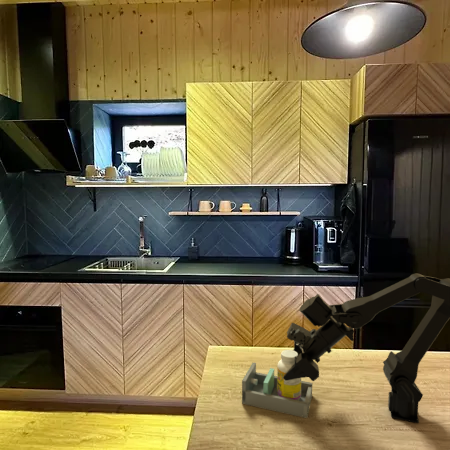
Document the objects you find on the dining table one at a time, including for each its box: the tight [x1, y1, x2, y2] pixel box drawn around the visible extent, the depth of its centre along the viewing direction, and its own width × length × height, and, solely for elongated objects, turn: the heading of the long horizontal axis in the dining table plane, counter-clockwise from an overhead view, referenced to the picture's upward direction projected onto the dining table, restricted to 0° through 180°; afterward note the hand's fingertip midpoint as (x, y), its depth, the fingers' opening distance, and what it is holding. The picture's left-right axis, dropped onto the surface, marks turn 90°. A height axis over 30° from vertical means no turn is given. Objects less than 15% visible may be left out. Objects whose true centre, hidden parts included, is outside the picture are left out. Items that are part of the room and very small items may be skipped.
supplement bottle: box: [276, 349, 302, 400], centre depth 99 cm, size 7×7×13 cm
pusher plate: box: [263, 367, 275, 395], centre depth 101 cm, size 1×8×6 cm, turn 159°
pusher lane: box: [241, 362, 313, 419], centre depth 101 cm, size 18×11×7 cm, turn 70°
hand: (284, 372), depth 99 cm, fingers closed on supplement bottle, 6 cm apart
